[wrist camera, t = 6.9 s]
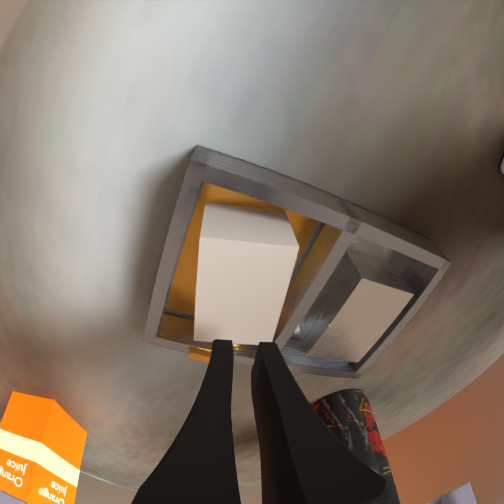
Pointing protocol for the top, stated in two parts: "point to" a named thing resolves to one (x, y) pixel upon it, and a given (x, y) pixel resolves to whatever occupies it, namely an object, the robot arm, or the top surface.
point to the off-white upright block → (242, 273)
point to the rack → (299, 270)
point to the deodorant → (357, 430)
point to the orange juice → (39, 451)
